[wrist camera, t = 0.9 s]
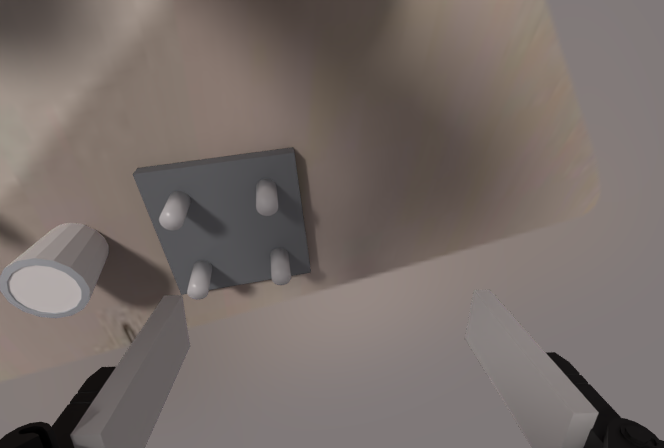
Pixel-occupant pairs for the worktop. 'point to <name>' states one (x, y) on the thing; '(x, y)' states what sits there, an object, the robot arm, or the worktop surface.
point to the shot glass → (56, 272)
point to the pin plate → (228, 219)
